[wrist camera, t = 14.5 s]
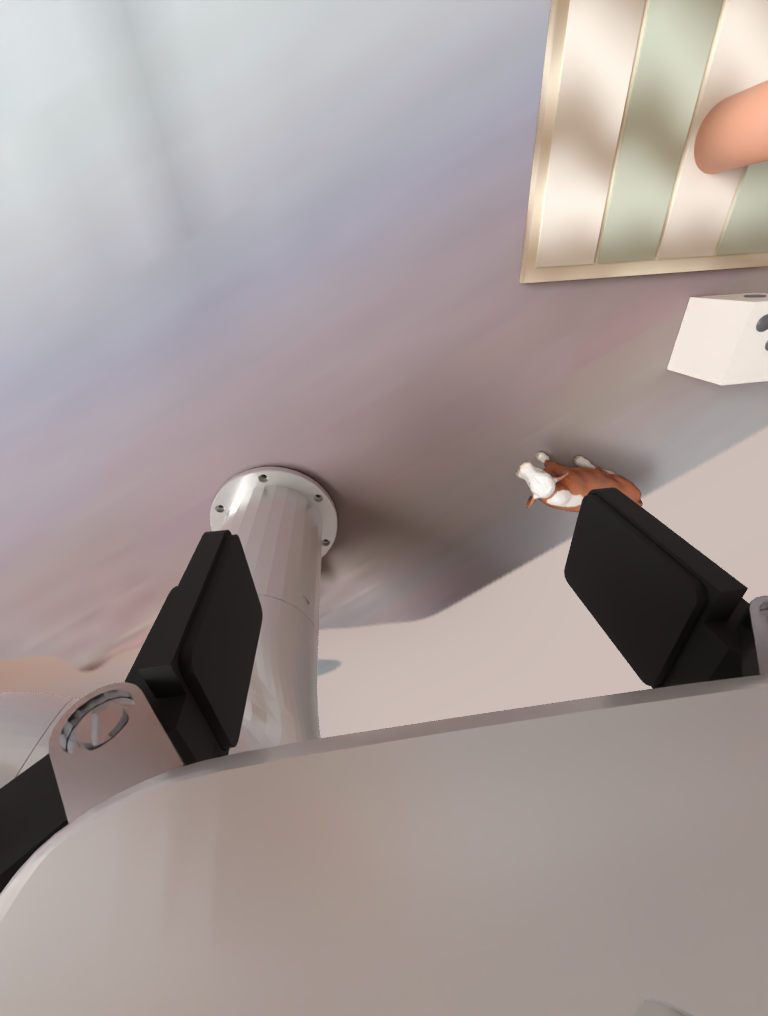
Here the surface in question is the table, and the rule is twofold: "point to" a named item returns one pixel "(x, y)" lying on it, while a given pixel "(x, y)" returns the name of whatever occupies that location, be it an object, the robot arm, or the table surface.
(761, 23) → the game board
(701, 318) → the die
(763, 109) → the peach rounded cylinder
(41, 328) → the table surface
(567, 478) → the bull figurine
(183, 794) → the robot arm
